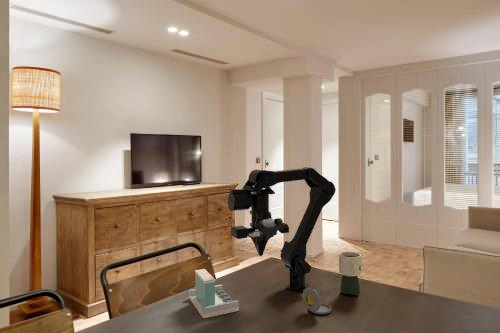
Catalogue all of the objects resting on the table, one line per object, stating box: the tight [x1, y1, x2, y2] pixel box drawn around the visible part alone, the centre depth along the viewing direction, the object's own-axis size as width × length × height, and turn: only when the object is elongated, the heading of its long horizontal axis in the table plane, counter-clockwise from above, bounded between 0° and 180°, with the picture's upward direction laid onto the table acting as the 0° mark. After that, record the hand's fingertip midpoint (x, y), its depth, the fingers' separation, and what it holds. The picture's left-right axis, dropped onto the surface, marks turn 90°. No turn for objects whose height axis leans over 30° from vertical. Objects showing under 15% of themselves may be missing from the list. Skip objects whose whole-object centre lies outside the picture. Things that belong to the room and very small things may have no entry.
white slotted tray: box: [188, 284, 240, 319], centre depth 112 cm, size 11×15×3 cm
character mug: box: [338, 250, 362, 296], centre depth 119 cm, size 11×7×13 cm, turn 179°
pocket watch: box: [302, 279, 332, 315], centre depth 106 cm, size 8×8×10 cm
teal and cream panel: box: [194, 268, 216, 307], centre depth 111 cm, size 3×10×8 cm, turn 24°
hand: (260, 255), depth 118 cm, fingers closed
